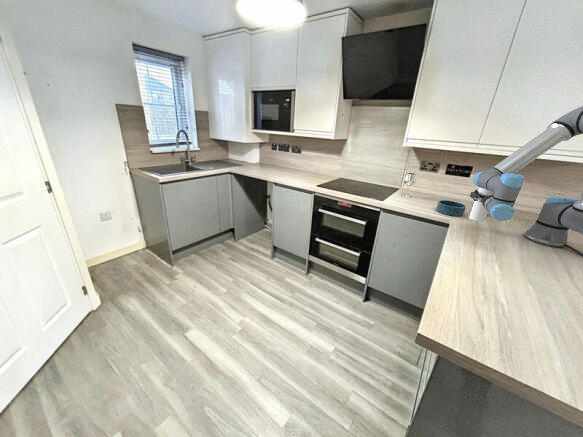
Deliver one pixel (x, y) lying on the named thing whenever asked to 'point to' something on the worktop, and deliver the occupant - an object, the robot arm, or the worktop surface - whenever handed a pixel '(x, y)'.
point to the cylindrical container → (480, 207)
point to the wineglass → (409, 181)
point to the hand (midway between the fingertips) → (483, 193)
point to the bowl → (451, 208)
